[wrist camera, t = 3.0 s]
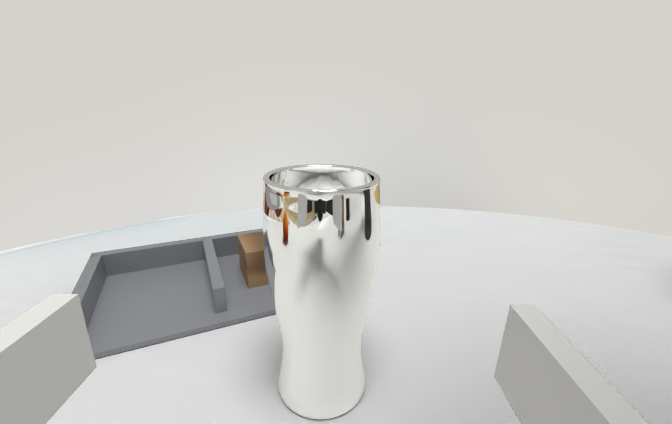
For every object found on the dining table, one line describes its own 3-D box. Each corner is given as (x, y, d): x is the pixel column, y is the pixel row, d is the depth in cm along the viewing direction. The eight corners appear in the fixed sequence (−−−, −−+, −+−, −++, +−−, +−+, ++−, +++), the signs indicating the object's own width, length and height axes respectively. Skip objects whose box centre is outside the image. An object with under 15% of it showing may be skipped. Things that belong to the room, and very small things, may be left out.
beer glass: (281, 346, 27) (273, 162, 22) (367, 348, 27) (377, 164, 22) (261, 425, 21) (243, 190, 16) (375, 429, 21) (392, 193, 16)
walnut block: (282, 259, 41) (281, 228, 39) (295, 278, 36) (294, 244, 35) (240, 267, 39) (237, 234, 37) (248, 288, 34) (245, 253, 33)
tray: (298, 244, 46) (297, 223, 45) (342, 297, 34) (343, 270, 33) (98, 277, 37) (91, 253, 36) (62, 367, 25) (51, 333, 24)
